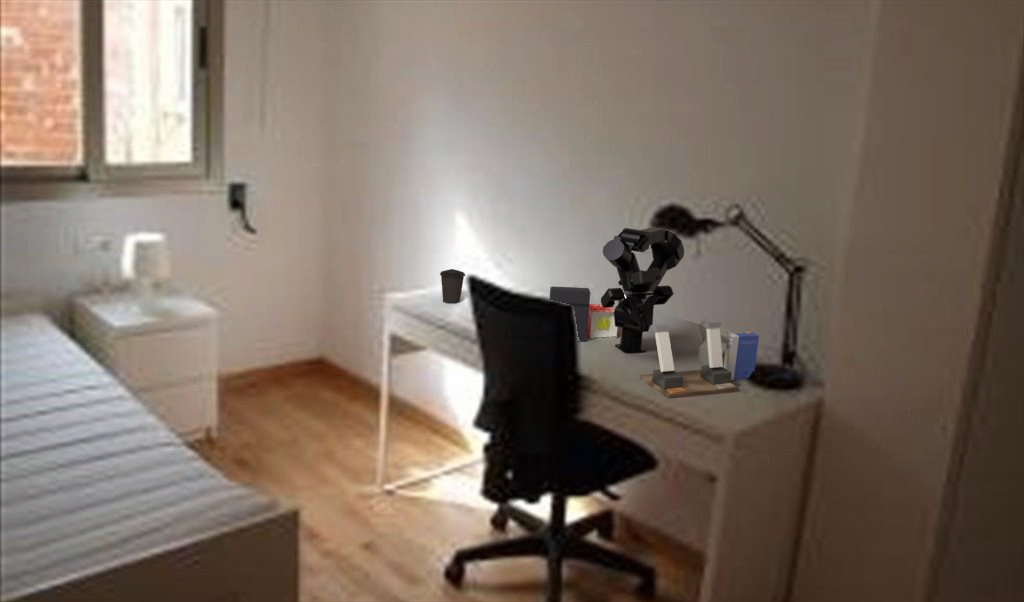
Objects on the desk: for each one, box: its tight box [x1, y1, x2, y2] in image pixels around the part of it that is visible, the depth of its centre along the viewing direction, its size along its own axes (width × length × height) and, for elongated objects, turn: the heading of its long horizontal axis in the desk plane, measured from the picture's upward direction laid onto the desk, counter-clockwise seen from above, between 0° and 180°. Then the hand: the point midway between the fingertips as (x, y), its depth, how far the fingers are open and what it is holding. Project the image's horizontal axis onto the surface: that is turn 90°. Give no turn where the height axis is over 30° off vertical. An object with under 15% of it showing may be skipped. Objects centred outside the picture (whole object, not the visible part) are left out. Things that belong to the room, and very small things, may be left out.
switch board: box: [639, 365, 740, 399], centre depth 238 cm, size 14×20×4 cm
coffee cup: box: [439, 268, 466, 305], centre depth 300 cm, size 8×8×10 cm
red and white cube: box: [587, 303, 619, 339], centre depth 276 cm, size 8×8×8 cm
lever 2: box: [704, 321, 723, 368], centre depth 240 cm, size 2×4×11 cm, turn 111°
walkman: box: [724, 331, 760, 380], centre depth 245 cm, size 8×3×12 cm, turn 107°
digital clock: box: [697, 320, 733, 368], centre depth 254 cm, size 16×9×11 cm, turn 14°
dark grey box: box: [548, 285, 591, 343], centre depth 268 cm, size 11×4×15 cm, turn 92°
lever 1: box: [652, 325, 675, 372], centre depth 235 cm, size 2×4×11 cm, turn 111°
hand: (646, 325), depth 243 cm, fingers open, 3 cm apart
